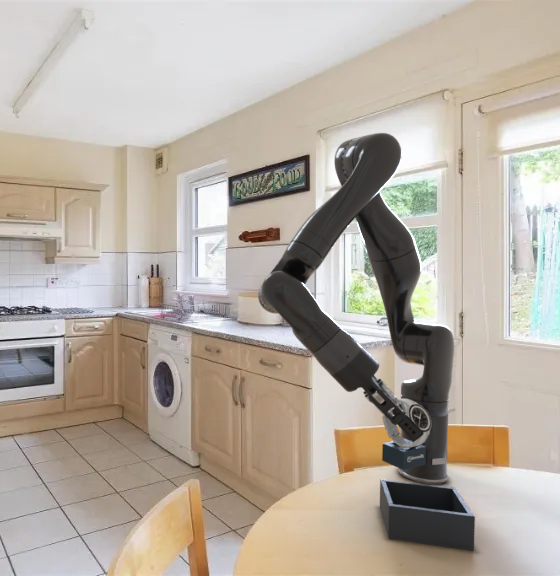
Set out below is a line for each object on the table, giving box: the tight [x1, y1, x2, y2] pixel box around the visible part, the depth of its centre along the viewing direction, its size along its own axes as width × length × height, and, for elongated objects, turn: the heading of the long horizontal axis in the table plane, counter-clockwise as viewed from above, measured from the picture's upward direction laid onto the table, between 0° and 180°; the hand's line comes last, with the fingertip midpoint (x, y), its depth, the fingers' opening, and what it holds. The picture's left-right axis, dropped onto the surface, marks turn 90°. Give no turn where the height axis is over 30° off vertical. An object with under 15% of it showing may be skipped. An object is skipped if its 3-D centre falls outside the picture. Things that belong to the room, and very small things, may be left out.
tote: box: [379, 478, 476, 552], centre depth 83 cm, size 11×13×6 cm
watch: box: [381, 398, 431, 470], centre depth 83 cm, size 6×8×11 cm
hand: (414, 429), depth 82 cm, fingers closed on watch, 7 cm apart
